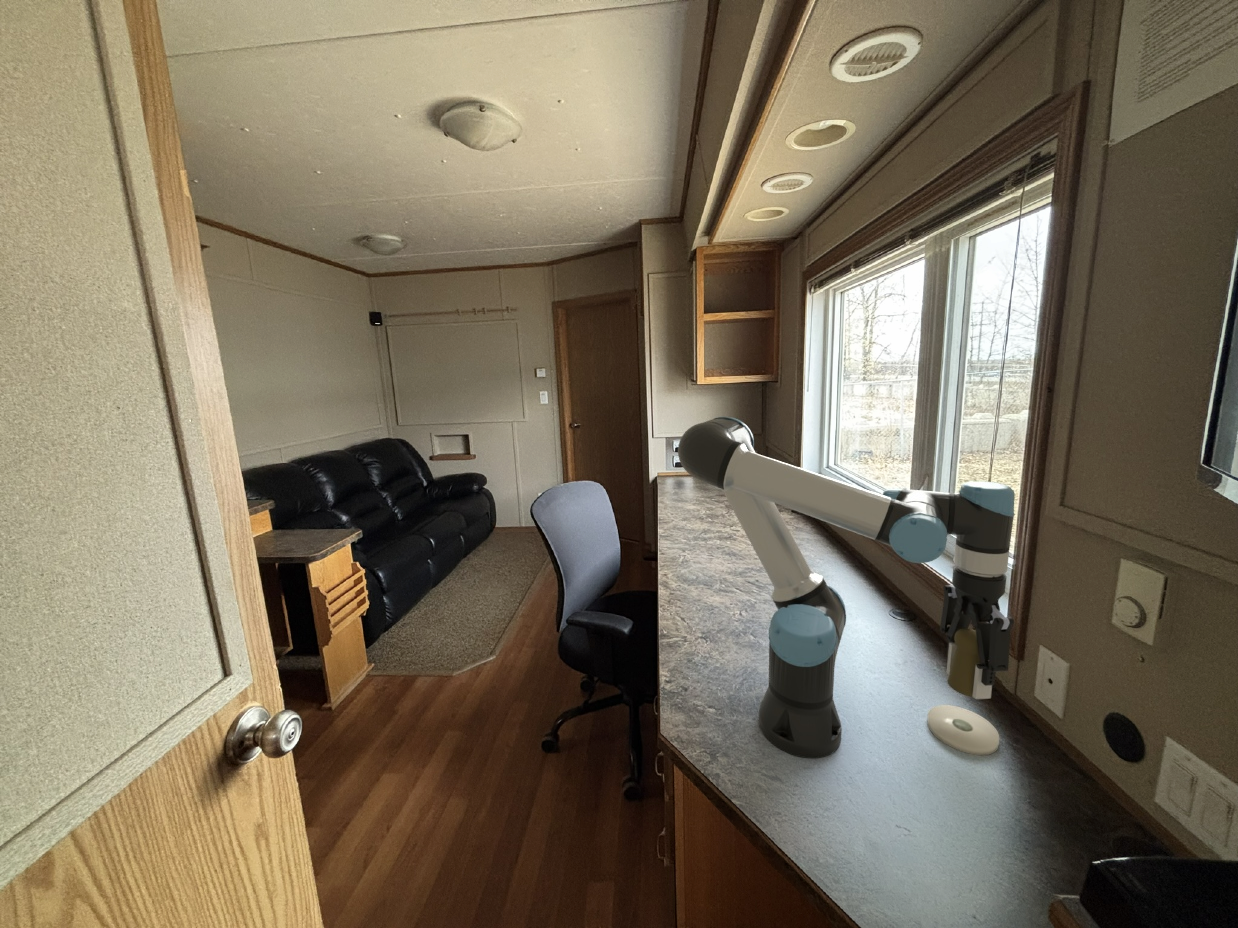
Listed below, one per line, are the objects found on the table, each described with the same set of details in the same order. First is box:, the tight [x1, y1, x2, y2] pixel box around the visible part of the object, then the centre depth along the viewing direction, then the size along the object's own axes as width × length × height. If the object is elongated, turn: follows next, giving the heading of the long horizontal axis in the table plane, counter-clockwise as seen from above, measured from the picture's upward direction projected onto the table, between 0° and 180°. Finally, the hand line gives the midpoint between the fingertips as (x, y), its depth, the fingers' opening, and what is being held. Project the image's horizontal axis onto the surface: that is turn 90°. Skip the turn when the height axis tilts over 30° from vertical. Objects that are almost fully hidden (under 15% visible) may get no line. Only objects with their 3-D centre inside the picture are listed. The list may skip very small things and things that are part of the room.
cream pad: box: [926, 704, 1000, 756], centre depth 89 cm, size 11×11×2 cm
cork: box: [946, 628, 980, 698], centre depth 86 cm, size 6×6×11 cm
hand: (967, 684), depth 87 cm, fingers closed on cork, 6 cm apart
